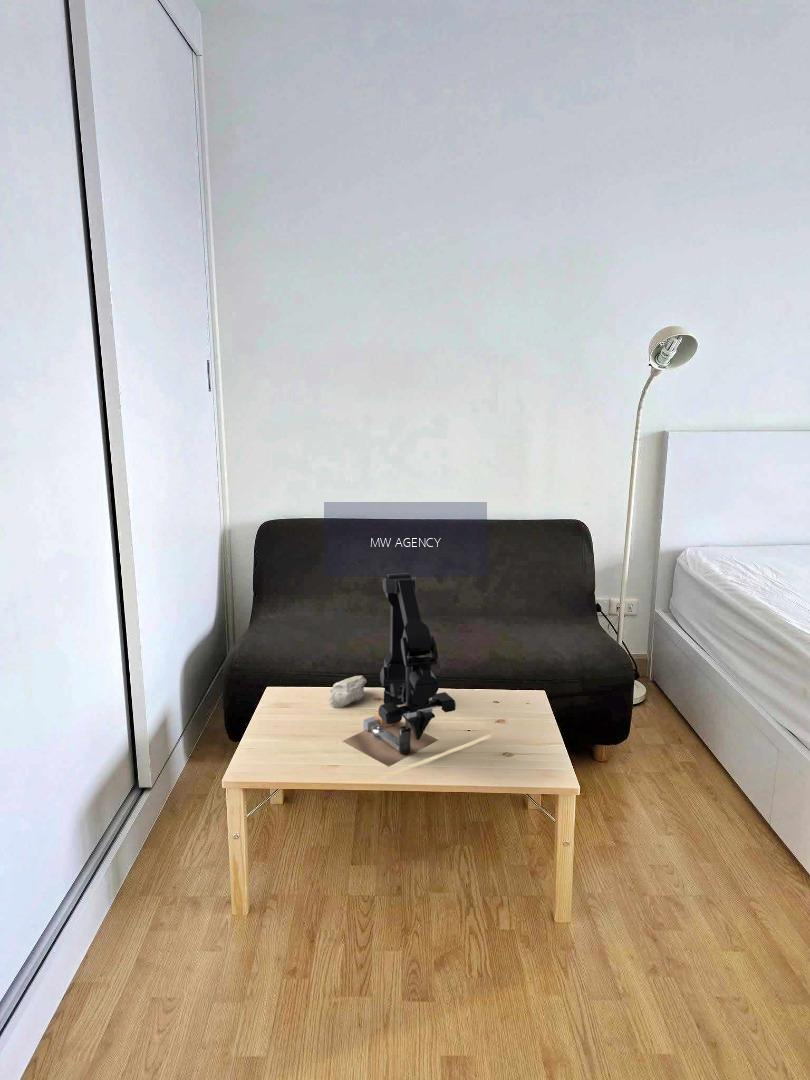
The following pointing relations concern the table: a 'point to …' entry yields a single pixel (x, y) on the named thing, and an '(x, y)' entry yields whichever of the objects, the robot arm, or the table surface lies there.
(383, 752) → the press bench
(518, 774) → the table surface
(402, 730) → the lever
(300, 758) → the table surface
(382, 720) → the block
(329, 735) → the table surface
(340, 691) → the fossil replica
